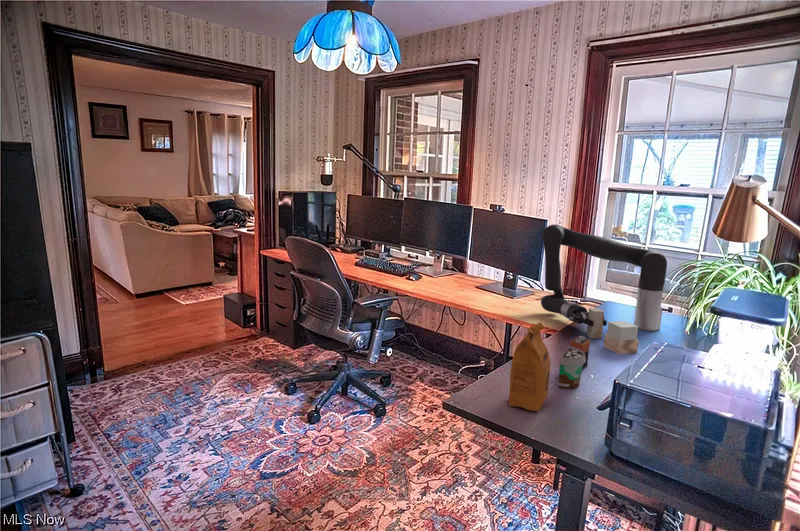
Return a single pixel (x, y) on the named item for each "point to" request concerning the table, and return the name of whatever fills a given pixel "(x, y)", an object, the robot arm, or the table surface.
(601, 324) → the box
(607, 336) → the block
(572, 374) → the food container
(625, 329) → the tower top
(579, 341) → the battery
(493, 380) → the table surface
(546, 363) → the coffee package
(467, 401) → the table surface
